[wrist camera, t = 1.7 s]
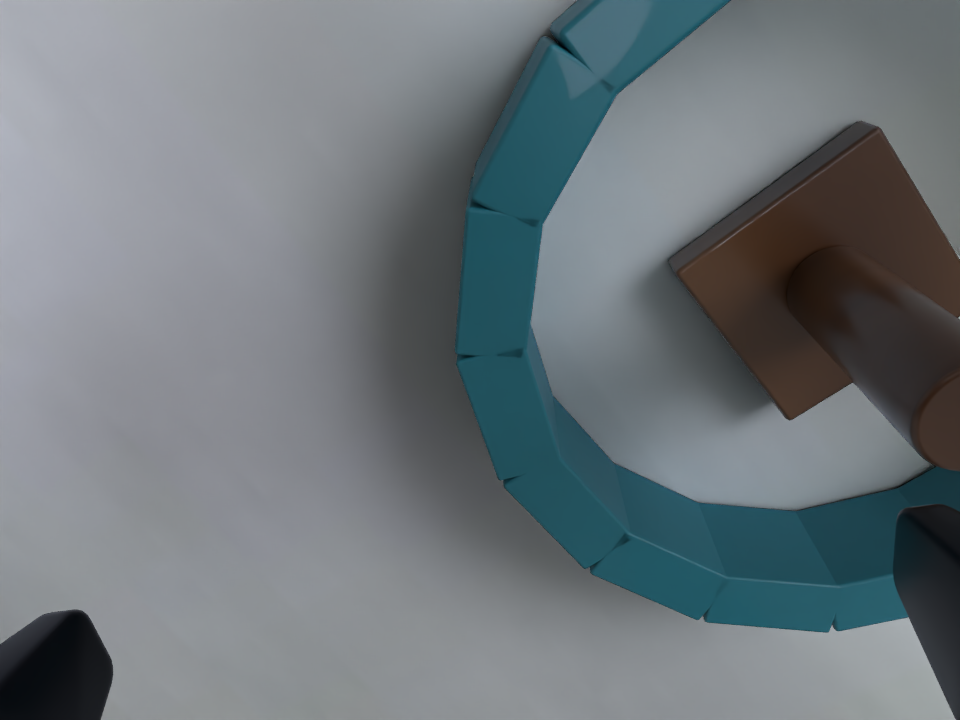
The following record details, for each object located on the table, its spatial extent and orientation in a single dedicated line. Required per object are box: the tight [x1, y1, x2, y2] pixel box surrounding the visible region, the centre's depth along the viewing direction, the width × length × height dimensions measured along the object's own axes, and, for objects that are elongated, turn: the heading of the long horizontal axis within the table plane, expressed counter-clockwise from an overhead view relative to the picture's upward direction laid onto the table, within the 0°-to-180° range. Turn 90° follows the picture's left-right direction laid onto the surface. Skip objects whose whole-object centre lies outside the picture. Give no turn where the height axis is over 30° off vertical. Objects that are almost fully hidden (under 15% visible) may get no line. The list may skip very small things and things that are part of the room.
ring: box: [455, 0, 960, 632], centre depth 13 cm, size 13×13×2 cm
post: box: [669, 121, 960, 471], centre depth 12 cm, size 4×4×6 cm
